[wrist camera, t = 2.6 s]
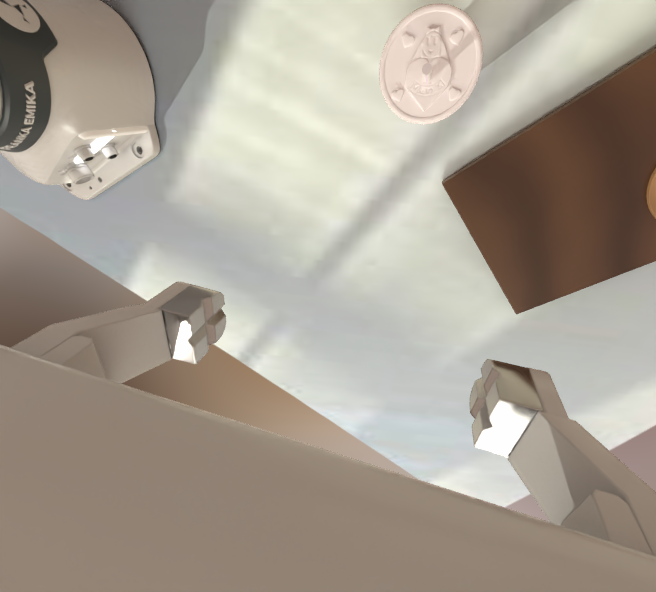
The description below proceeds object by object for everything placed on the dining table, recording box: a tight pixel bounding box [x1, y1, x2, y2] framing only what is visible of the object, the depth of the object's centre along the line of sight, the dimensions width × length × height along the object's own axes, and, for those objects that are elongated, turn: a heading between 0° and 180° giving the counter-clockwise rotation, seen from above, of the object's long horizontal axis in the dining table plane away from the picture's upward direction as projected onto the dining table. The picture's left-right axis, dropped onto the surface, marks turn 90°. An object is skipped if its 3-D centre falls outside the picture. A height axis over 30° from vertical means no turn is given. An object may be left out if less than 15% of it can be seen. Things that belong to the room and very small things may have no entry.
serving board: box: [442, 48, 656, 314], centre depth 28 cm, size 22×16×2 cm
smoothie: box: [379, 4, 483, 124], centre depth 23 cm, size 6×6×14 cm
